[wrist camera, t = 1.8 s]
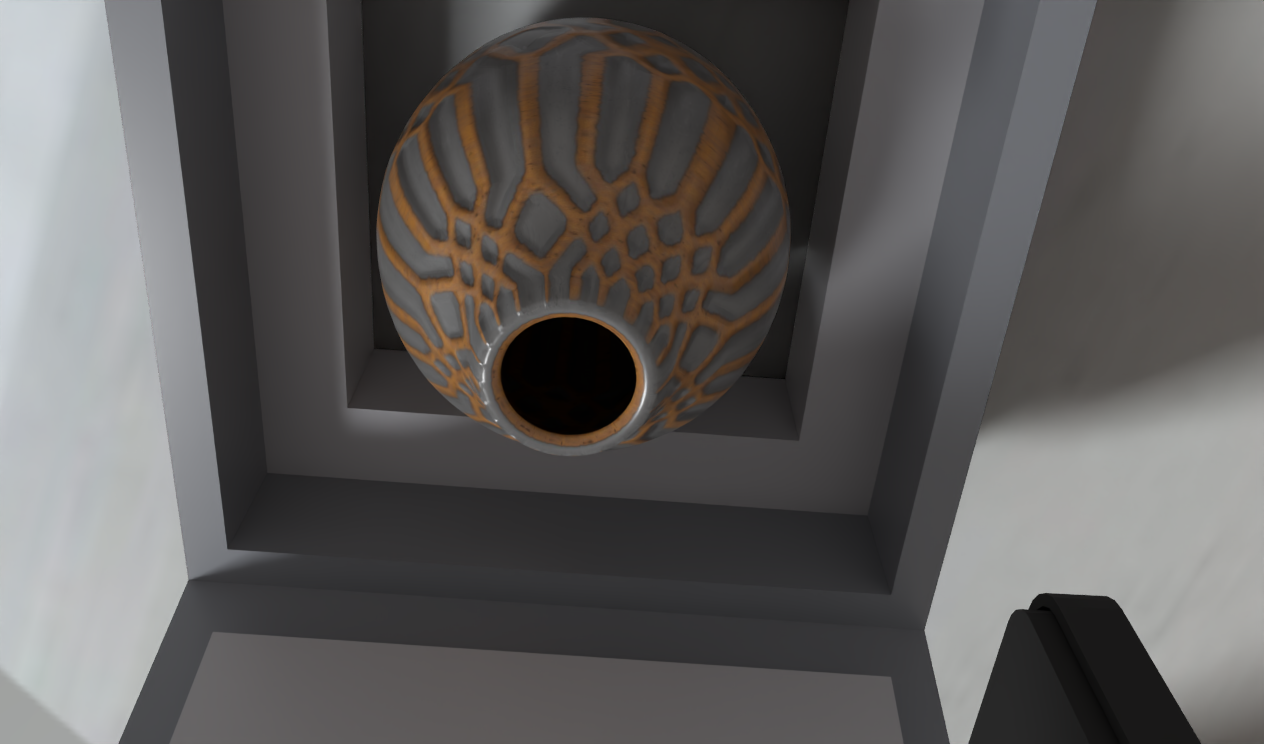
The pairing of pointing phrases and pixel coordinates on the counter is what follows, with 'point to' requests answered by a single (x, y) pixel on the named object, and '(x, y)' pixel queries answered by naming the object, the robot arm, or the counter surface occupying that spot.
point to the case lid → (520, 675)
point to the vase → (583, 235)
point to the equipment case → (609, 480)
